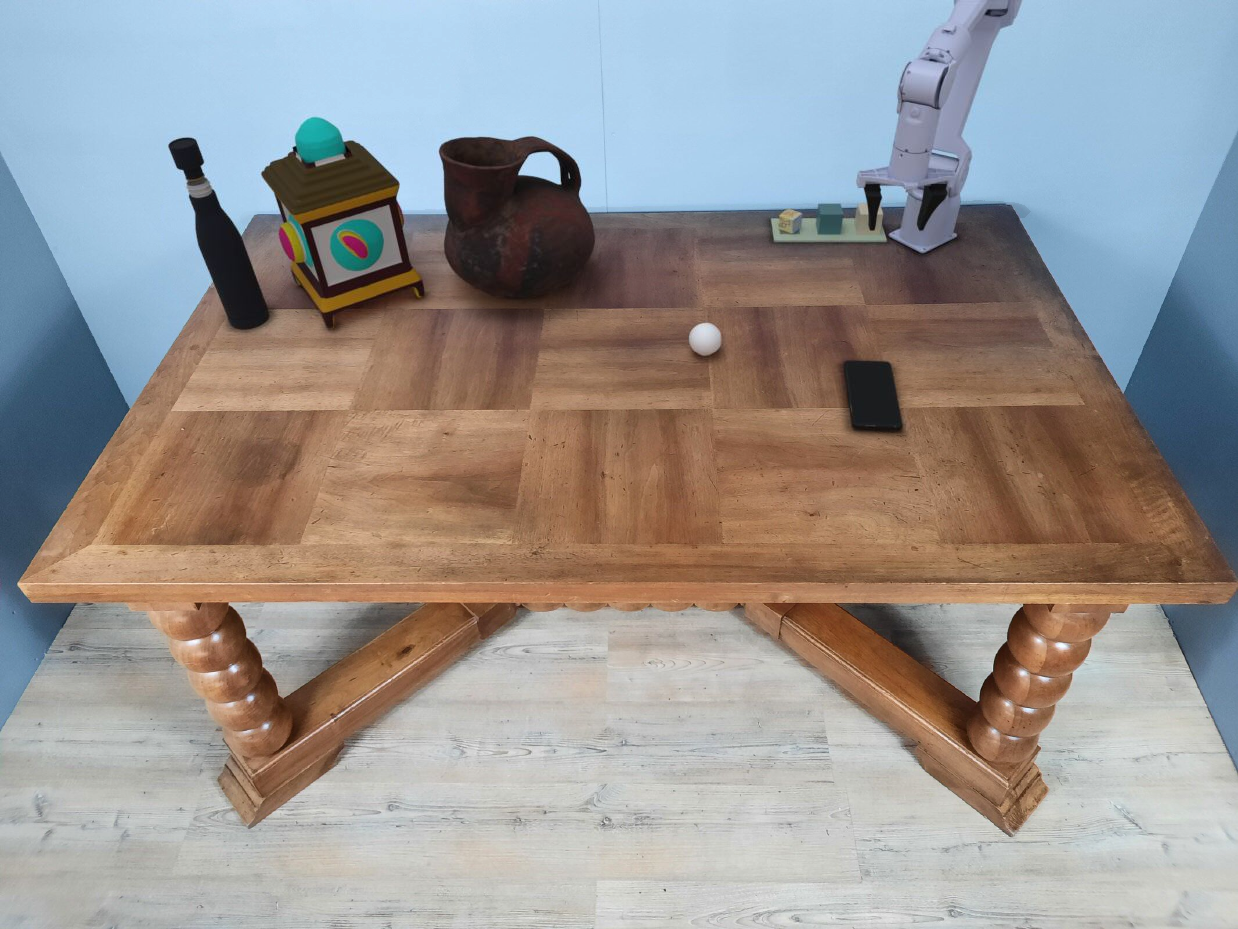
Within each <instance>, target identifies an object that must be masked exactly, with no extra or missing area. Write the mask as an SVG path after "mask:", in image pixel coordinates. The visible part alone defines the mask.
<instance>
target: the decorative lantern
mask: <svg viewBox="0 0 1238 929" xmlns="http://www.w3.org/2000/svg"><path fill="white" fill-rule="evenodd" d="M294 143H295V145H294V146H292V151H290V152H287V155H286V156H284V157H282V158H279V159H275V160H272V161H271V162H269V165H266V166H265V167H264V169H263V170H262V171H261V172H260V173H261V174H260V175H261V177H262V179H263V180H264V182H265V183H266V184H267V186H268V187H269V189H271V191H272V192H273V194H274V198H275V201H276V204H277V207H278V210H279V213H280V216H281V219H282V222H283V223H282V224H281V225H280V226H279V228H278V239H279V241H280V244H281V247H282V249H283V252H284V253H285V255H286V256H287V257H288V259H289V260H290V261H291V266H290V272H291V275H292V278H293V280H294V282H295V284H296V285H297V286H301V287H302V288H303V290H304V292H305V293H306V294H307V296H308V298H310V300H311V302H312V303H313V305H314V306H315V308H316V309H317V310H318V312H319V313H320V315H321V318H322V320H323V323H324V325H325V326H326V328H327V329H329V330H332V329H334V327H335V319H334V317H335V315H337V314H339V313H341V312H344V311H346V310H349V309H353V308H355V307H358V306H361V305H364V304H367V303H370V302H373V301H376V300H378V299H381V298H384V297H387V296H389V295H390V296H391V295H393V294H397V293H399V292H402V291H405V290H408V289H412V288H413V291H414V294H415V295H416V297H417V298H419V299H421V298H423V297H424V296H425V286H424V285H425V284H424V282H423V279H422V277H421V276H420V273H419V272H417V270H416V268H414V267H413V265H412V263H411V259H410V254H409V250H408V246H407V241H406V237H405V232H404V229H403V228H404V225H405V218H404V214H403V210H402V208H401V205H400V203H399V201H398V198H397V197H398V194H399V190H400V181H399V180H398V179H397V178H396V177H395V176H394V175H393V173H391V172H390V171H389V169H387V168H386V167H385V166H384V165H383V163H381V162H380V161H379V160H378V159H377V158H376V157H375V156H374V155H373V154H372V153H371V152H370V151H368V149H367V148H366V147H365V146H364V145H362V144H361V143H360V142H357V141H354V140H346V141H344V139H343V135H342V133H341V131H340V130H339V128H338V127H337V126H336V125H335V124H333V123H332V122H330V121H328V120H327V119H325V118H322V117H318V116H312V117H309V118H307V119H306V120H304V121H303V122H302V123H301V124H300V125H299V128H298V129H297V131H296V133H295V135H294Z"/></svg>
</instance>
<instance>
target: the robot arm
mask: <svg viewBox="0 0 1238 929" xmlns="http://www.w3.org/2000/svg"><path fill="white" fill-rule="evenodd" d="M1022 2H1023V0H953V6H954V7H953V8H952V10H951V13H950V15H949V18H948V19H947V21H946V22H943V23H940V24H939V25H937V27H935V29H934V30H933V31H932V33H931V35H930V36H929V38H928V39H927V41H926V43H925V45H924V47H923V48H922V50H921V51H920V53H919V55H918V57H917V58H914V60H912V61H909V60H908V62H907V63H906V64H905V66H904V67H903V70H902V73H901V75H900V78H899V82H898V87H897V96H896V98H897V105H896V114H898V117H897V122H896V127H895V133H894V139H893V143H892V148H891V153H890V159H889V164H888V166H884V167H877V168H872V169H865V170H864V169H862V170H858V171H857V175H856V186H857V188H858V189H863V191H864V196H865V200H866V204H867V206H868V217H869V220H868V226H869V229H870V231H875V227H876V221H877V214H878V210H879V206H880V205H881V202H882V200H883V195H882V192H881V191H882V188H881V187H902V188H903V189H904V190H905V193H907V196H906V201H905V205H904V211H903V214H902V219H901V224H900V228H897V229H896V230H894V231H891V232H889V233H888V237H889V238H891V239H893V240H895V241H896V242H899V243H901V244H902V245H905V246H906V247H908V248H910V249H912V250H914V251H916V252H919V254H926V253H927V252H929V251H932V250H933V249H936V248H937V247H939V246H941V245H944V244H945V243H947V242H949V241H951V240H953V239H955V238H957V237H958V234H957V233H956V232H954V230H955V228H956V223H957V219H958V216H959V212H960V208H961V205H962V204H961V203H962V198H961V192H962V191H963V188H964V187H965V184H966V182H967V179H968V175H969V172H970V165H971V162H972V158H973V152H972V149H971V147H970V146H969V145H968V144H967V142H966V141H965V139H964V138H963V132H964V129H965V127H966V124H967V122H968V121H967V120H968V117H969V114H970V112H971V109H972V107H973V104H974V100H975V97H976V94H977V91H978V88H979V85H980V83H981V80H982V77H983V74H984V71H985V68H986V66H987V62H988V59H989V56H990V54H991V51H992V48H993V45H994V42H995V40H996V38H997V37H998V35H999V32H1000V31H1001V29H1004V28H1007V27H1009V26H1012V25H1013V24H1014V21H1015V19H1016V18H1017V16H1018V15H1019V11H1020V9H1021V5H1022ZM933 150H935V151H938V152H943V153H948V154H952V155H955V156H956V157H954V156H949V155H945V154H940V153H937V152H933Z"/></svg>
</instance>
